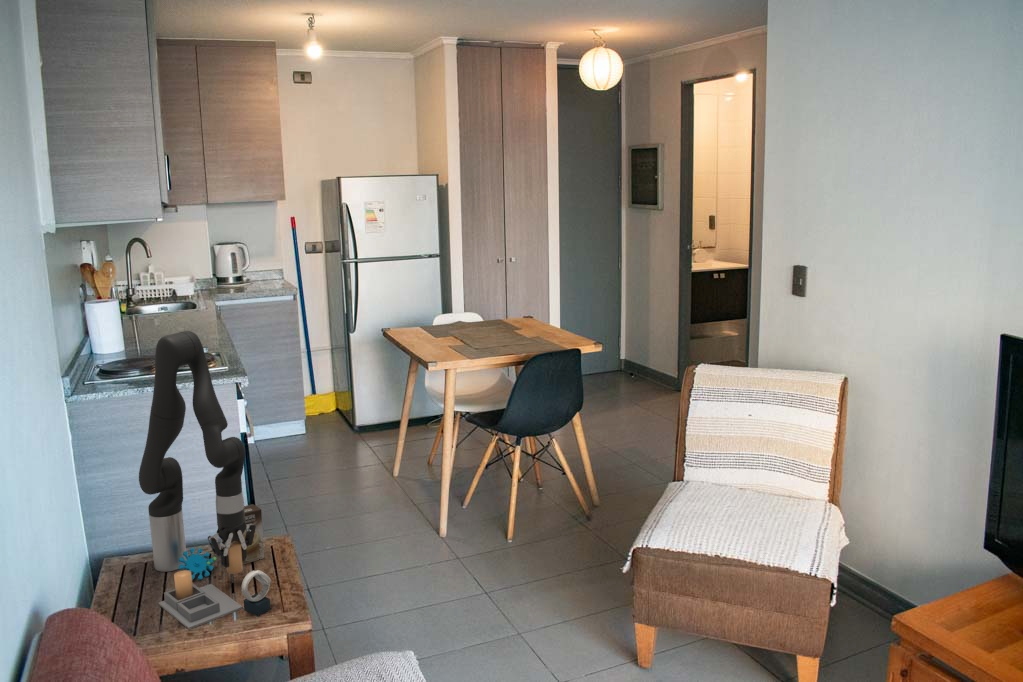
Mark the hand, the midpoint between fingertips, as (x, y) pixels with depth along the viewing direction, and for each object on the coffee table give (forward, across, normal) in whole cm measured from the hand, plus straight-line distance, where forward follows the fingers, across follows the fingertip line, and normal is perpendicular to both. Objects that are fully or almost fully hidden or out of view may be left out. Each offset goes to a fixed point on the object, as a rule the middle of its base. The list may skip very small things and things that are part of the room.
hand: (234, 563), depth 240 cm
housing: (+6, +13, +5) cm, 15 cm away
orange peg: (+2, 0, 0) cm, 2 cm away
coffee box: (+7, -10, -12) cm, 17 cm away
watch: (+6, +3, +18) cm, 20 cm away
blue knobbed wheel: (+7, +5, -13) cm, 16 cm away
